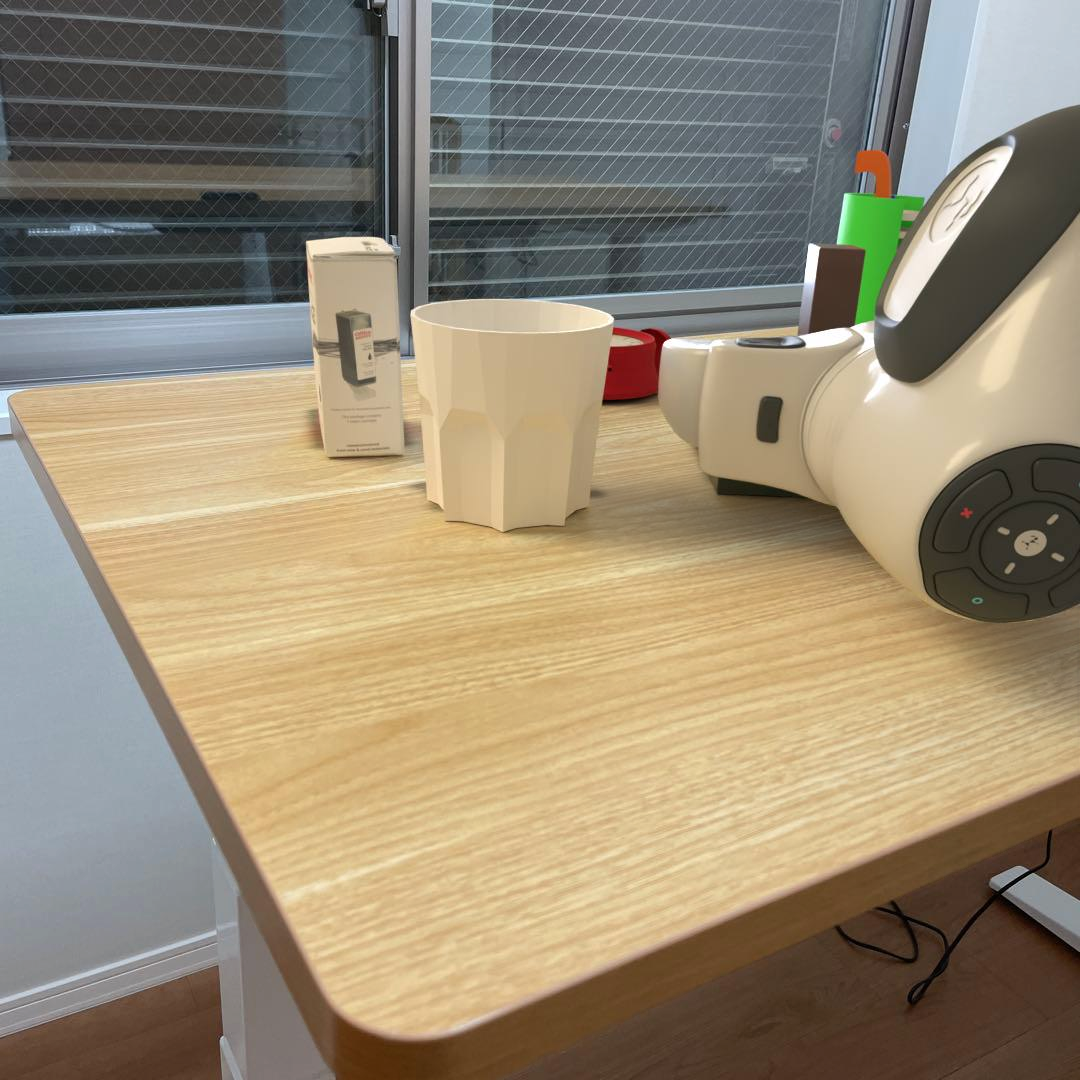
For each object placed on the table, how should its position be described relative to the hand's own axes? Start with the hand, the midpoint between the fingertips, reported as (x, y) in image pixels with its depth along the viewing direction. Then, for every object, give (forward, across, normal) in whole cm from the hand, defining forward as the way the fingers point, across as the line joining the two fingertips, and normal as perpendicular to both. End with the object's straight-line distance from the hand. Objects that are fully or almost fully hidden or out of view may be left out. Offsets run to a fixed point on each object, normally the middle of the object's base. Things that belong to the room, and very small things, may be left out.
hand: (819, 358), depth 61 cm
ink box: (+1, +28, +7) cm, 29 cm away
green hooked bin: (+38, -14, +7) cm, 41 cm away
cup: (-10, +18, +7) cm, 22 cm away
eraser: (-1, 0, +5) cm, 5 cm away
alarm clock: (+19, +12, +7) cm, 24 cm away
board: (-1, 0, +6) cm, 6 cm away
